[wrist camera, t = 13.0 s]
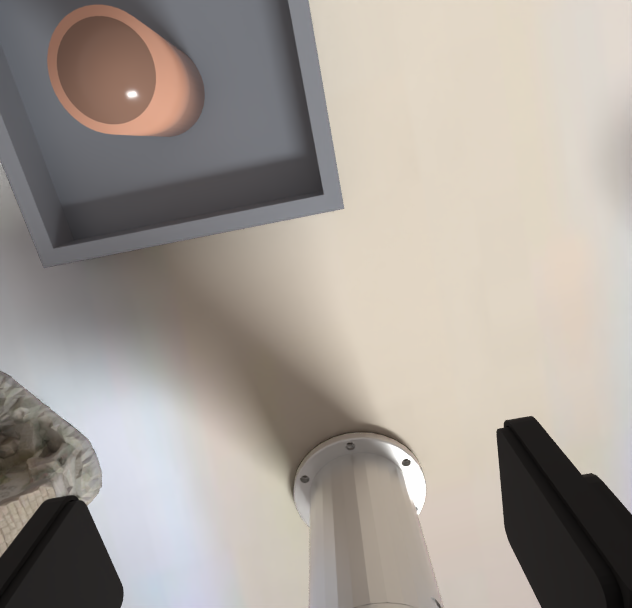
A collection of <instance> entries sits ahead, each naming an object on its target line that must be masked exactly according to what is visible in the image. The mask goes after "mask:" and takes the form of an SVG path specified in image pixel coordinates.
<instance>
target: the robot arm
mask: <svg viewBox="0 0 632 608" xmlns="http://www.w3.org/2000/svg"><path fill="white" fill-rule="evenodd" d="M497 446H498V457H499V469H500V480H501V492H502V503H503V515H504V525H505V531H506V534H507V538H508V540H509V543H510V545H511V547H512V549H513V551H514V553H515V555H516V557H517V559H518V561H519V563H520V565H521V567H522V569H523V571H524V573H525V575H526V577H527V579H528V581H529V583H530V585H531V587H532V589H533V591H534V593H535V595H536V597H537V599H538V601H539V603H540V605H541V607H542V608H632V514H631V513H630V512H629V511H628V510H627V509H626V507H625V506H624V505H623V504H622V503H621V502H620V501H619V499H618V498H617V497H616V496H615V495H614V494H613V493H612V491H611V490H610V489H609V488H608V487H607V486H606V485H605V483H604V482H603V481H602V480H601V479H600V478H599V477H598V476H596V475H594V474H592V473H591V474H584V475H581V473H580V472H579V471H578V470H577V468H576V467H575V466H574V465H573V464H572V462H571V461H570V460H569V459H568V458H567V456H566V455H565V454H564V453H563V451H562V450H561V449H560V448H559V447H558V445H557V444H556V443H555V442H554V441H553V439H552V438H551V437H550V436H549V434H548V433H547V432H546V431H545V430H544V428H543V427H542V426H541V425H540V424H539V422H538V421H537V420H536V419H535V418H534V417H532V416H529V417H523V418H517V419H511V420H506V421H505V422H504V428H500V429H497ZM425 497H426V481H425V478H424V474H423V471H422V468H421V466H420V463H419V462H418V460H417V459H416V457H415V456H414V454H413V453H412V452H411V451H410V450H409V449H407V448H406V447H405V446H404V445H402V444H401V443H399V442H398V441H396V440H394V439H392V438H389V437H386V436H384V435H379V434H375V433H364V432H356V433H348V434H343V435H340V436H336V437H333V438H331V439H329V440H327V441H325V442H323V443H321V444H319V445H318V446H317V447H315V448H314V449H313V450H311V451H310V453H309V454H308V455H307V456H306V457H305V458H304V459H303V461H302V462H301V464H300V466H299V467H298V470H297V473H296V476H295V481H294V502H295V506H296V509H297V511H298V513H299V515H300V517H301V519H302V520H303V521H304V522H305V523H306V525H307V526H308V527H309V608H444V606H443V602H442V598H441V595H440V591H439V588H438V584H437V581H436V577H435V574H434V570H433V567H432V563H431V560H430V556H429V552H428V549H427V545H426V542H425V538H424V535H423V531H422V528H421V524H420V521H419V517H418V515H419V513H420V511H421V509H422V507H423V505H424V502H425ZM122 602H123V586H122V583H121V581H120V579H119V577H118V575H117V572H116V570H115V568H114V566H113V563H112V561H111V559H110V557H109V554H108V552H107V550H106V548H105V545H104V543H103V541H102V539H101V536H100V534H99V532H98V530H97V528H96V525H95V523H94V521H93V519H92V516H91V514H90V512H89V510H88V507H87V505H86V504H85V502H84V501H82V500H79V499H78V497H76V496H75V495H68V496H62V497H56V498H51V499H47V500H45V501H44V502H43V503H42V504H41V505H40V506H39V508H38V509H37V510H36V512H35V513H34V514H33V516H32V517H31V518H30V519H29V521H28V522H27V523H26V525H25V526H24V527H23V529H22V530H21V531H20V532H19V534H18V535H17V536H16V538H15V539H14V540H13V541H12V543H11V544H10V545H9V547H8V548H7V549H6V551H5V552H4V553H3V554H2V556H1V557H0V608H120V607H121V605H122Z"/></svg>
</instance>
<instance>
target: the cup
mask: <svg viewBox="0 0 632 608" xmlns="http://www.w3.org/2000/svg"><path fill="white" fill-rule="evenodd" d="M47 65H48V73H49V78H50V81H51V84H52V87H53V89H54V92H55V94H56V96H57V97H58V99H59V101H60V102H61V104H62V105H63V107H64V108H65V109H66V110H67V111H68V113H69V114H70V115H71V116H73V117H74V118H75V119H76V120H77V121H79V122H80V123H81V124H83V125H85V126H86V127H88V128H90V129H92V130H95V131H97V132H101V133H105V134H114V135H134V136H154V137H173V136H177V135H180V134H182V133H184V132H186V131H187V130H189V129H190V128H191V127H192V126H193V125H194V124H195V123H196V122H197V120H198V119H199V117H200V115H201V113H202V109H203V106H204V99H205V91H204V84H203V80H202V77H201V75H200V72H199V70H198V69H197V67H196V65H195V64H194V62H193V61H192V60H191V59H190V58H189V57H188V56H187V55H186V54H185V53H184V52H182V51H181V50H180V49H178V48H177V47H175V46H174V45H173V44H171V43H170V42H168V41H167V40H166V39H164V38H163V37H161V36H160V35H159V34H157V33H156V32H154V31H153V30H152V29H150V28H149V27H147V26H146V25H145V24H143V23H142V22H140V21H139V20H138V19H136V18H135V17H133V16H132V15H130V14H129V13H127V12H125V11H123V10H121V9H119V8H115V7H112V6H108V5H88V6H84V7H81V8H78V9H76V10H74V11H72V12H71V13H69V14H68V15H67V16H65V17H64V18H63V19H62V20H61V21H60V23H59V24H58V26H57V27H56V28H55V30H54V32H53V34H52V37H51V40H50V43H49V47H48V55H47Z"/></svg>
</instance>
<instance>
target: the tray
mask: <svg viewBox="0 0 632 608" xmlns="http://www.w3.org/2000/svg"><path fill="white" fill-rule="evenodd" d="M88 5H108V6H112V7H115V8H119V9H121V10H123V11H125V12H127V13H129V14H130V15H132V16H133V17H135V18H136V19H138V20H139V21H140V22H142V23H143V24H145V25H146V26H147V27H149V28H150V29H152V30H153V31H154V32H156V33H157V34H159V35H160V36H161V37H163V38H164V39H166V40H167V41H168V42H170V43H171V44H173V45H174V46H175V47H177V48H178V49H180V50H181V51H182V52H184V53H185V54H186V55H187V56H188V57H189V58H190V59H191V60H192V61H193V62H194V64H195V65H196V67H197V69H198V70H199V72H200V75H201V77H202V80H203V84H204V91H205V99H204V106H203V109H202V113H201V115H200V117H199V119H198V120H197V122H196V123H195V124H194V125H193V126H192V127H191V128H190V129H189V130H187V131H186V132H184V133H182V134H180V135H177V136H173V137H154V136H134V135H114V134H105V133H101V132H97V131H95V130H92V129H90V128H88V127H86V126H85V125H83V124H81V123H80V122H79V121H77V120H76V119H75V118H74V117H73V116H71V115H70V114H69V113H68V111H67V110H66V109H65V108H64V107H63V105H62V104H61V102H60V101H59V99H58V97H57V96H56V94H55V92H54V89H53V87H52V84H51V81H50V78H49V73H48V65H47V55H48V47H49V43H50V40H51V37H52V34H53V32H54V30H55V28H56V27H57V26H58V24H59V23H60V21H61V20H62V19H63V18H64V17H65V16H67V15H68V14H69V13H71V12H72V11H74V10H76V9H78V8H81V7H84V6H88ZM0 161H1V163H2V165H3V168H4V170H5V173H6V175H7V178H8V180H9V183H10V185H11V188H12V190H13V193H14V195H15V198H16V200H17V203H18V205H19V208H20V210H21V213H22V215H23V218H24V220H25V223H26V225H27V228H28V230H29V232H30V235H31V237H32V240H33V242H34V245H35V247H36V250H37V252H38V255H39V257H40V260H41V262H42V265H43V267H44V268H47V267H52V266H57V265H62V264H67V263H72V262H77V261H82V260H87V259H92V258H97V257H102V256H107V255H112V254H117V253H122V252H128V251H133V250H138V249H143V248H148V247H153V246H158V245H163V244H168V243H173V242H178V241H183V240H188V239H193V238H198V237H203V236H209V235H214V234H219V233H224V232H229V231H234V230H239V229H244V228H249V227H254V226H259V225H264V224H269V223H274V222H279V221H284V220H290V219H295V218H300V217H305V216H310V215H315V214H320V213H325V212H330V211H335V210H340V209H344V205H343V199H342V193H341V187H340V181H339V176H338V170H337V164H336V158H335V152H334V147H333V141H332V135H331V129H330V123H329V118H328V112H327V106H326V100H325V95H324V89H323V83H322V77H321V71H320V66H319V60H318V54H317V48H316V42H315V37H314V31H313V25H312V19H311V13H310V8H309V2H308V0H0Z"/></svg>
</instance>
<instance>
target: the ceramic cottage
mask: <svg viewBox="0 0 632 608" xmlns="http://www.w3.org/2000/svg"><path fill="white" fill-rule="evenodd" d="M101 487H102V472H101V468H100V464H99V461H98V458H97V456H96V454H95V453H94V450H93V448H92V445H91V443H90V441H89V440H88V439H87V438H86V437H85V436H84V435H82V434H81V433H80V432H78V431H77V429H75V428H73V427H72V426H70V424H68V423H67V422H66V421H64V420H63V418H61V417H60V416H59V415H58V414H56V413H55V412H54V411H52V410H51V409H50V407H48V406H46V405H44V404H43V403H41V401H40V400H39V399H37V398H36V397H35V396H34V395H33V394H31V393H30V392H29V391H28V390H26V389H24V387H23V386H21V385H20V384H19V383H18V382H16V381H15V380H14V379H13V378H12V377H10V376H8V375H7V374H5V373H3V372H1V371H0V557H1V556H2V554H3V553H4V552H5V551H6V549H7V548H8V547H9V545H10V544H11V543H12V541H13V540H14V539H15V538H16V536H17V535H18V534H19V532H20V531H21V530H22V529H23V527H24V526H25V525H26V523H27V522H28V521H29V519H30V518H31V517H32V516H33V514H34V513H35V512H36V510H37V509H38V508H39V506H40V505H41V504H42V503H43V502H44V501H45V500H47V499H51V498H56V497H62V496H68V495H75V496H76V497H78V499H79V500H82V501H84V502H85V504H86V505H88V504H89V503H91V502H92V501H93V499H94V498H95V497H96V496H97V494H98V493H99V491H100V490H99V489H100V488H101Z"/></svg>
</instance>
